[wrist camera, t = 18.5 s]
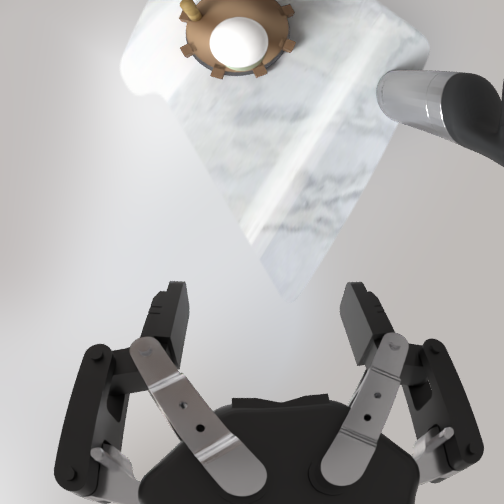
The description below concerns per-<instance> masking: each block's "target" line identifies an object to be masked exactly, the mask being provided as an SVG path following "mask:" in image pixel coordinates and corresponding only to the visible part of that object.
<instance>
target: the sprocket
mask: <svg viewBox="0 0 504 504" xmlns="http://www.w3.org/2000/svg"><path fill="white" fill-rule="evenodd" d="M180 7H181V8H182V9H183V11H182V13H181V15H180V17H179V19H180V20H181V21H182V22H187V26H186V35H187V40H188V44H186V45H184V46H182V47H180V49H181V51H182V53H183V54H184V56H185V57H187V58H188V57H190V56H192V55H194V54H195V55H196V56H197V57H198V58H199V59H201V60H202V61H203V62H204V63H206V64H208V65H209V66H211V67H213V70H212V73H211V75H210V76H212V77H215V78H219V79H223V77H224V74H225V72H247V71H251V70H253V72H254V74H255V76H256V78H257V77H260V76H263V75H265V74H267V71H266V69H265V67H264V65H266V64H267V63H269V62H270V61H271V60H273V59H274V58H275V57H276V56H277V55H278V54H279V52H280V51H281V50H284V51H286V52H289V53H290V52H292V50H293V48H294V46H295V43H296V42H294V41H292V40H289V39H287V36H288V20H287V18H288V17H291V16H293V15H294V13H295V12H294V11H293V9H292V7H291V5H290V4H289V5H285V6H282V7H281V6H280V5H279V4H278V3H277V2H276V1H275V0H201V1H200V2H199V3H198V4H197V5H195V3H194V2H193V0H182V1H181V3H180ZM232 17H246V18H250V19H253V20H255V21H256V22H258V23H259V24H261V25H262V27H263V28H264V29H265V31H266V33H267V35H268V48H267V51H266V53H265V55H264V56H263V57H262V58H261V59H260V60H259V61H258V62H256V63H255V64H253V65H251V66H248V67H243V68H234V67H229V66H226V65H224V64H222V63H221V62H219V61H218V60H217V59H216V58H215V57H214V56H213V54H212V52H211V49H210V36H211V34H212V32H213V30H214V28H215V27H216V26H217V25H218V24H219V23H221V22H222V21H224V20H226V19H229V18H232Z"/></svg>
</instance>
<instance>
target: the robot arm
mask: <svg viewBox="0 0 504 504" xmlns="http://www.w3.org/2000/svg"><path fill="white" fill-rule="evenodd" d="M377 99H378V103H379V105H380V108H381V109H382V111H383V112H384V113H385V115H386V116H387V117H389V118H390V119H392V120H394V121H396V122H399V123H402V124H405V125H408V126H411V127H414V128H417V129H420V130H423V131H426V132H428V133H431V134H434V135H436V136H439V137H441V138H444V139H446V140H450V141H452V142H454V143H456V144H459V145H461V146H463V147H465V148H468V149H470V150H473V151H475V152H477V153H480V154H482V155H484V156H486V157H488V158H490V159H491V160H493V161H495V162H496V163H498V164H500V165H501V166H503V167H504V82H503V90H502V101H501V99H500V97H499V95H498V93H497V91H496V90H495V88H494V87H493V85H491V83H490V82H489V81H488V80H486V79H485V78H483V77H481V76H479V75H476V74H472V73H461V72H447V71H446V72H445V71H424V70H395V71H390V72H388V73H386V74H385V75H384V76H383V77H382V78H381V79H380V81H379V83H378V87H377ZM148 313H149V314H148V315H147V318H146V321H145V324H144V327H143V330H142V333H141V337H140V338H138V339H137V340H135V341H134V342H133V343H132V344H131V346H130V347H129V348H126V349H120V350H114V351H111V349H110V348H109V347H108V346H106V345H104V344H97V345H94V346H91V347H90V348H89V349H88V350H87V351H86V352H85V354H84V357H83V360H82V363H81V366H80V369H79V372H78V375H77V378H76V381H75V384H74V388H73V391H72V395H71V398H70V401H69V405H68V409H67V412H66V416H65V420H64V424H63V429H62V433H61V437H60V441H59V447H58V451H57V456H56V461H55V467H54V476H55V479H56V481H57V482H58V484H59V485H60V486H61V487H63V488H64V489H66V490H68V491H70V492H72V493H74V494H76V495H78V496H80V497H83V498H86V499H88V500H91V501H96V502H99V503H104V504H107V503H111V502H113V503H117V504H415V496H416V492H417V489H418V486H419V485H422V484H425V483H427V482H431V483H438V482H441V481H443V480H445V479H447V478H449V477H451V476H453V475H455V474H457V473H458V472H460V471H462V470H464V469H466V468H467V467H469V466H471V465H473V464H474V463H476V462H477V461H479V460H480V458H481V457H482V455H483V451H484V445H483V442H482V438H481V435H480V432H479V429H478V426H477V423H476V420H475V417H474V414H473V412H472V409H471V406H470V403H469V401H468V398H467V396H466V393H465V391H464V388H463V386H462V383H461V381H460V378H459V376H458V374H457V372H456V369H455V367H454V365H453V363H452V360H451V358H450V356H449V354H448V352H447V350H446V348H445V346H444V345H443V344H442V343H441V342H440V341H438V340H436V339H428V340H426V341H425V342H424V344H423V345H414V344H409V343H408V342H407V340H406V339H405V337H403V336H402V335H400V334H398V333H395V332H394V329H393V327H392V325H391V323H390V321H389V319H388V317H387V315H386V313H385V312H384V309H383V307H382V306H381V303H380V301H379V299H378V298H377V297H376V296H375V295H374V294H373V293H372V292H367V290H366V288H365V286H364V284H363V283H362V282H348V283H347V285H346V288H345V291H344V295H343V298H342V301H341V305H340V315H341V318H342V321H343V324H344V327H345V330H346V333H347V336H348V339H349V342H350V345H351V348H352V351H353V354H354V357H355V360H356V363H357V366H360V365H365V366H366V370H365V372H364V374H363V376H362V379H361V380H360V382H359V384H358V386H357V388H356V390H355V392H354V394H353V396H352V398H351V400H350V401H349V403H348V405H347V406H346V405H344V404H342V403H339V402H336V401H332V400H329V397H328V394H320V395H309V396H303V397H300V398H297V399H293V400H290V401H286V402H282V403H280V402H273V401H268V400H263V399H258V398H232V404H231V405H227V406H223V407H221V408H219V409H216V410H215V411H212V410H211V408H210V407H209V406H208V405H207V403H206V402H205V401H204V399H203V398H202V397H201V396H200V394H199V393H198V392H197V390H196V389H195V388H194V387H193V385H192V384H191V383H190V381H189V380H188V379H187V377H186V376H185V375H184V374H183V373H180V372H179V371H178V369H180V363H181V358H182V352H183V346H184V340H185V335H186V329H187V324H188V319H189V301H188V295H187V288H186V283H185V282H178V281H176V282H175V281H170V282H169V285H168V289H167V292H165V291H160V292H159V293H158V294H157V295H156V296H155V297H154V298H153V301H152V304H151V308H150V309H149V312H148ZM429 383H430V384H429ZM400 385H402V387H403V390H404V393H405V397H406V400H407V404H408V407H409V411H410V414H411V418H412V422H413V425H414V429H415V433H416V437H417V441H416V442H415V444H414V447H413V454H412V456H411V455H410V454H408V453H407V452H406V451H404V450H403V449H402V448H400V447H399V446H398V445H396V444H395V443H393V442H392V441H391V440H390V439H389V438H387V437H386V436H385V435H383V434H382V433H381V432H382V429H383V427H384V425H385V422H386V420H387V418H388V415H389V413H390V410H391V408H392V405H393V402H394V399H395V397H396V394H397V391H398V388H399V386H400ZM430 386H431V387H430ZM431 389H432V390H431ZM146 390H148V391H149V393H150V394H151V396H152V398H153V400H154V401H155V403H156V405H157V406H158V408H159V409H160V411H161V413H162V414H163V416H164V417H165V419H166V421H167V422H168V424H169V425H170V427H171V428H172V430H173V431H174V433H175V434H176V436H177V437H178V439H179V440H180V441H181V442H180V443H179V444H178V445H177V446H176V447H175V448H174V449H173V450H172V451H171V452H170V453H169V454H168V455H166V456H165V457H164V458H163V459H162V460H161V461H160V462H159V463H158V464H157V465H156V466H154V467H153V468H152V469H151V470H150V471H149V472H148V473H147V474H146V475H145V476H144V477H143V479H142V480H141V482H140V481H137V480H136V478H135V477H134V475H133V470H132V464H131V462H130V460H129V459H128V458H127V457H126V456H125V455H124V454H122V453H121V447H122V439H123V432H124V426H125V418H126V413H127V407H128V401H129V395H130V393H134V392H140V391H146Z"/></svg>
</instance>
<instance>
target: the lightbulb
mask: <svg viewBox="0 0 504 504" xmlns="http://www.w3.org/2000/svg"><path fill="white" fill-rule="evenodd" d="M267 48H268V35H267V33H266V31H265V29H264V28H263V27H262V25H261V24H259V23H258V22H256V21H255V20H253V19H250V18H246V17H232V18H229V19H226V20H224V21H222V22H221V23H219V24H218V25H217V26H216V27H215V28H214V30H213V32H212V34H211V36H210V49H211V52H212V54H213V56H214V57H215V58H216V59H217V60H218V61H219V62H221V63H222V64H224V65H226V66H229V67H234V68H243V67H248V66H251V65H253V64H255V63H256V62H258V61H259V60H260V59H261V58H262V57H263V56H264V55H265V53H266V51H267Z"/></svg>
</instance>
